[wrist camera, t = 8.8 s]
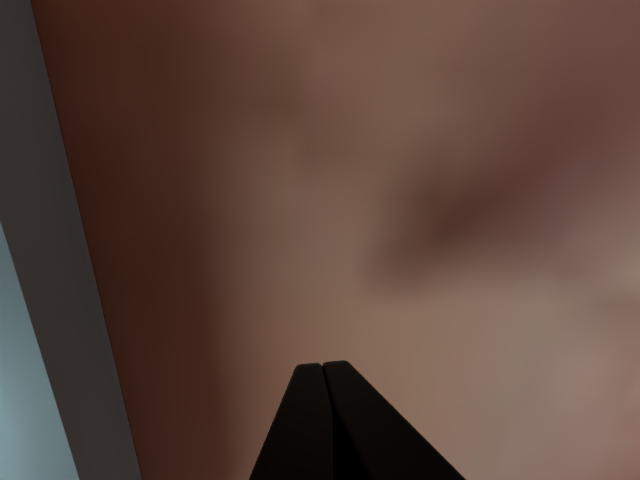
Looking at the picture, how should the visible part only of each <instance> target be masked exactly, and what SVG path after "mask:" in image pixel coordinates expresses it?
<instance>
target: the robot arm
mask: <svg viewBox="0 0 640 480" xmlns="http://www.w3.org/2000/svg"><path fill="white" fill-rule="evenodd" d="M249 480H466V479H465V478H464V477H463V476H462V475H461V474H460V473H459V472H458V471H457V470H456V469H455V468H454V467H453V466H452V465H451V464H450V463H449V462H448V461H447V460H446V459H445V458H444V457H443V456H442V455H441V454H440V453H439V452H438V451H437V450H436V449H435V448H434V447H433V446H432V445H431V444H430V443H429V442H428V441H427V440H426V439H425V438H424V437H423V436H422V435H421V434H420V433H419V432H418V431H417V430H416V429H415V428H414V427H413V426H412V425H411V424H410V423H409V422H408V421H407V420H406V419H405V418H404V417H403V416H402V415H401V414H400V413H399V412H398V411H397V410H396V409H395V408H394V407H393V406H392V405H391V404H390V403H389V402H388V401H387V400H386V399H385V398H384V397H383V396H382V395H381V394H380V393H379V392H378V391H377V390H376V389H375V388H374V387H373V386H372V385H371V384H370V383H369V382H368V381H367V380H366V379H365V378H364V377H363V376H362V375H361V374H360V373H359V372H358V371H357V370H356V369H355V368H354V367H353V366H352V365H351V364H350V363H349V362H348V361H345V360H342V361H331V362H325V363H323V365H321V364H320V363H309V364H299V365H297V366H296V368H295V370H294V372H293V375H292V377H291V379H290V382H289V384H288V387H287V389H286V391H285V394H284V396H283V398H282V401H281V403H280V406H279V408H278V410H277V413H276V415H275V418H274V420H273V422H272V425H271V427H270V430H269V432H268V434H267V437H266V439H265V442H264V444H263V446H262V449H261V451H260V454H259V456H258V458H257V461H256V463H255V466H254V468H253V470H252V473H251V475H250V478H249Z"/></svg>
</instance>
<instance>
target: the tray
mask: <svg viewBox="0 0 640 480" xmlns="http://www.w3.org/2000/svg"><path fill="white" fill-rule="evenodd" d="M0 480H142V478H141V473H140V469H139V465H138V460H137V456H136V452H135V447H134V443H133V439H132V435H131V430H130V426H129V422H128V417H127V413H126V409H125V405H124V400H123V396H122V392H121V387H120V383H119V379H118V374H117V370H116V366H115V362H114V357H113V353H112V349H111V344H110V340H109V336H108V332H107V327H106V323H105V319H104V314H103V310H102V306H101V302H100V297H99V293H98V289H97V284H96V280H95V276H94V271H93V267H92V263H91V259H90V254H89V250H88V246H87V241H86V237H85V233H84V229H83V224H82V220H81V216H80V211H79V207H78V203H77V198H76V194H75V190H74V186H73V181H72V177H71V173H70V168H69V164H68V160H67V156H66V151H65V147H64V143H63V138H62V134H61V130H60V126H59V121H58V117H57V113H56V108H55V104H54V100H53V95H52V91H51V87H50V83H49V78H48V74H47V70H46V65H45V61H44V57H43V53H42V48H41V44H40V40H39V35H38V31H37V27H36V22H35V18H34V14H33V10H32V5H31V1H30V0H0Z"/></svg>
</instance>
